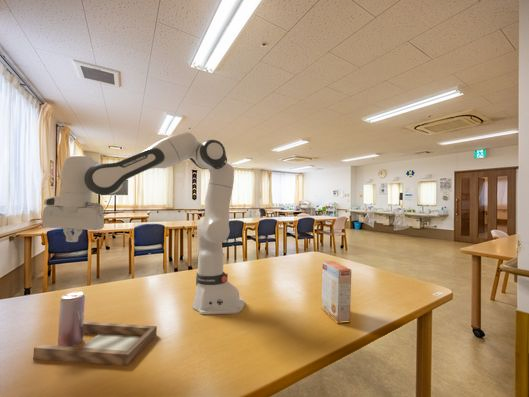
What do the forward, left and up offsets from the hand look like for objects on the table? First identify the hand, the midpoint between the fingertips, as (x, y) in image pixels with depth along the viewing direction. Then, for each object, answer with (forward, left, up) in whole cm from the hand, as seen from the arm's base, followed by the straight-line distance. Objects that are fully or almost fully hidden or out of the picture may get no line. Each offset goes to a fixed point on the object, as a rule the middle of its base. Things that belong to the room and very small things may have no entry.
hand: (71, 241), depth 81 cm
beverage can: (-8, +7, -30) cm, 32 cm away
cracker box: (-96, -23, -31) cm, 103 cm away
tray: (-17, +7, -30) cm, 35 cm away
